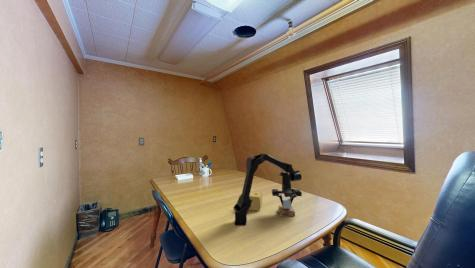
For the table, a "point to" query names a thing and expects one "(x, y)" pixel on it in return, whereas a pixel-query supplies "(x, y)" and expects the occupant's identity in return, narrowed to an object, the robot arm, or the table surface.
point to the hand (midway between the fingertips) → (286, 205)
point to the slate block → (286, 203)
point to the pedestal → (286, 211)
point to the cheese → (256, 201)
